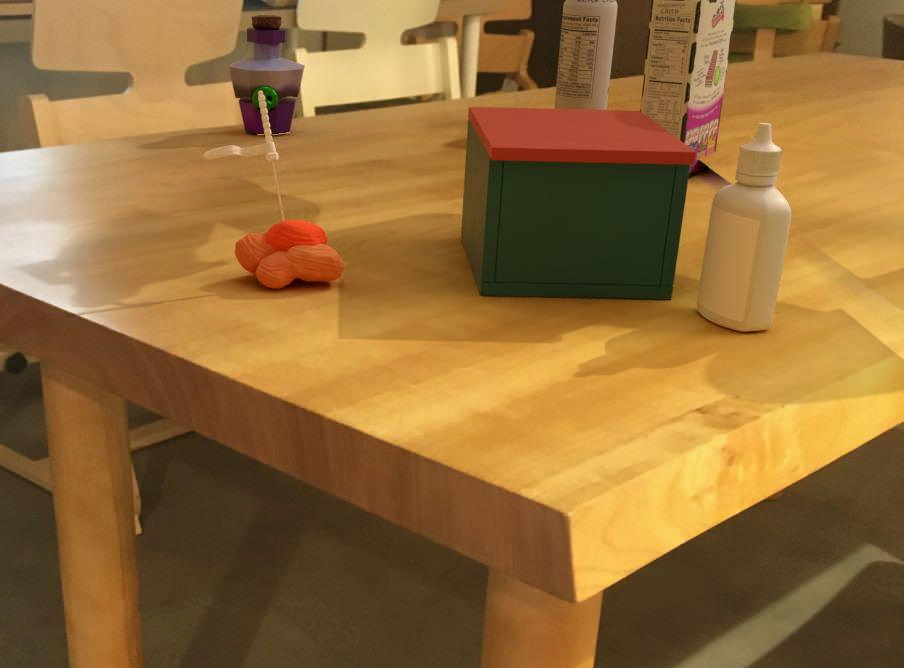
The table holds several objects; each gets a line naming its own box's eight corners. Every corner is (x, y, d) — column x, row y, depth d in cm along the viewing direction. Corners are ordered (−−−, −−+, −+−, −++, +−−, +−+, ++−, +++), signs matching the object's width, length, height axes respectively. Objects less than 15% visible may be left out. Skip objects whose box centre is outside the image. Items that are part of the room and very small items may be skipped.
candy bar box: (667, 160, 129) (690, -13, 121) (714, 166, 126) (741, -10, 119) (628, 177, 120) (650, -8, 112) (678, 184, 118) (704, -5, 110)
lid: (694, 165, 78) (696, 151, 78) (491, 160, 78) (492, 147, 77) (639, 121, 93) (640, 110, 93) (467, 117, 93) (468, 106, 92)
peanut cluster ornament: (227, 262, 89) (222, 84, 83) (355, 274, 87) (359, 92, 81) (195, 284, 83) (188, 95, 78) (331, 297, 81) (333, 105, 76)
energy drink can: (615, 129, 146) (630, -11, 139) (579, 133, 142) (593, -10, 136) (578, 122, 150) (591, -14, 143) (542, 126, 147) (553, -13, 140)
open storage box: (671, 299, 83) (691, 162, 79) (480, 295, 83) (489, 157, 79) (624, 241, 97) (638, 122, 93) (460, 238, 97) (467, 118, 93)
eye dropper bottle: (700, 331, 77) (732, 129, 71) (694, 305, 82) (722, 114, 76) (773, 336, 76) (810, 133, 71) (762, 310, 81) (796, 118, 76)
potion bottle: (241, 140, 133) (238, 18, 128) (219, 127, 140) (216, 11, 135) (317, 136, 136) (318, 18, 131) (292, 124, 143) (292, 11, 138)
